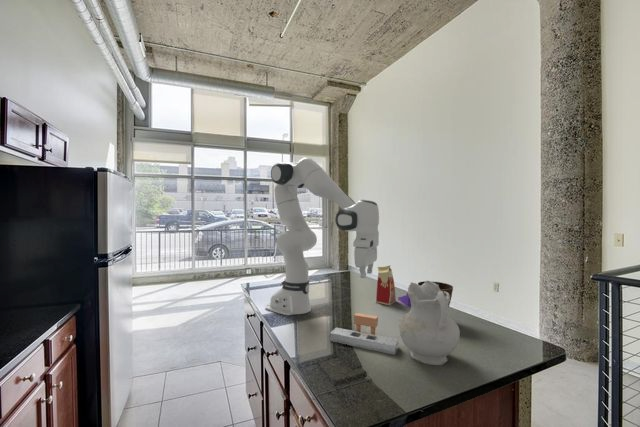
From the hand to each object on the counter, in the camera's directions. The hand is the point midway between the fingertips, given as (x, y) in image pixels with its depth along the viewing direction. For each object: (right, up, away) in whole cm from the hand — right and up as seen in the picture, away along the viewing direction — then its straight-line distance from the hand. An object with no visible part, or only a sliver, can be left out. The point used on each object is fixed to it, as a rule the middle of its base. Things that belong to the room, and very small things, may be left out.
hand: (366, 275), depth 119 cm
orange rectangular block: (0, -23, 0) cm, 23 cm away
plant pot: (+33, -24, +16) cm, 44 cm away
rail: (-3, -23, -10) cm, 25 cm away
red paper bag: (+16, -23, +42) cm, 51 cm away
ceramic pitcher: (+18, -24, -19) cm, 36 cm away
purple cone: (+29, -24, +41) cm, 56 cm away
